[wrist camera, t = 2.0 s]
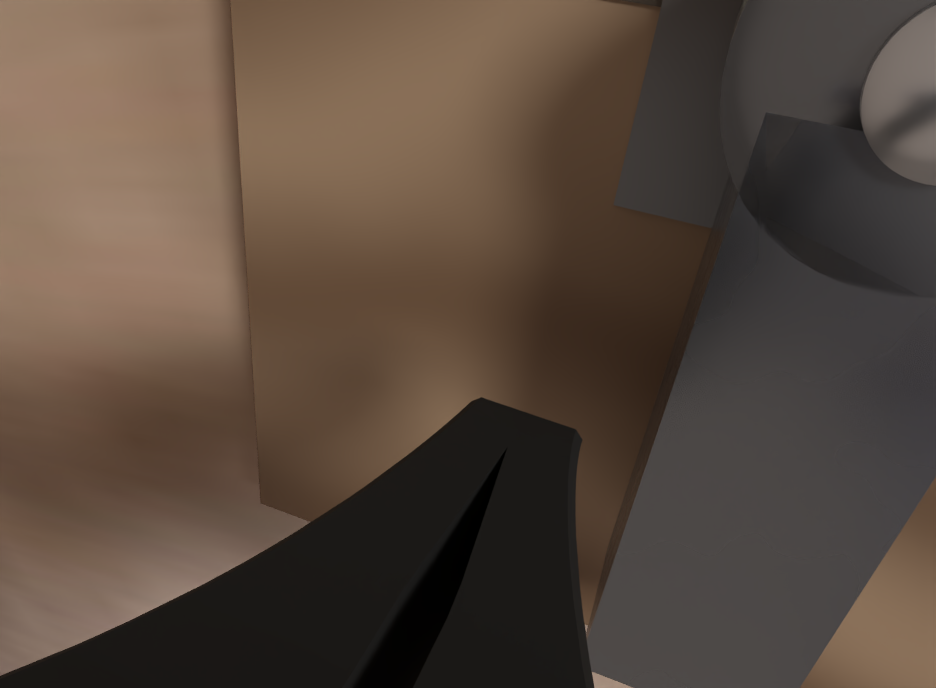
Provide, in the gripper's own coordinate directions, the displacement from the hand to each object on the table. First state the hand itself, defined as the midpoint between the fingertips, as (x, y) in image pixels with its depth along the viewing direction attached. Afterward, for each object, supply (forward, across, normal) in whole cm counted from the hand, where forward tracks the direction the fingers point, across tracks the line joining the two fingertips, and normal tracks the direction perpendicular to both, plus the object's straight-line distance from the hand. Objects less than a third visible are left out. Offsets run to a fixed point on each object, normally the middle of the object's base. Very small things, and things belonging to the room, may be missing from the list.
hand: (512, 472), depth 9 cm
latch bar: (+4, -3, -1) cm, 5 cm away
